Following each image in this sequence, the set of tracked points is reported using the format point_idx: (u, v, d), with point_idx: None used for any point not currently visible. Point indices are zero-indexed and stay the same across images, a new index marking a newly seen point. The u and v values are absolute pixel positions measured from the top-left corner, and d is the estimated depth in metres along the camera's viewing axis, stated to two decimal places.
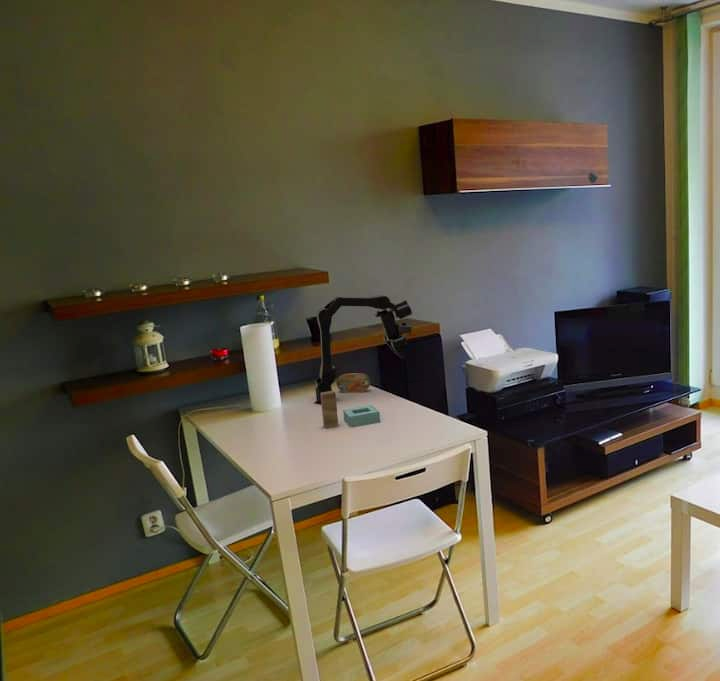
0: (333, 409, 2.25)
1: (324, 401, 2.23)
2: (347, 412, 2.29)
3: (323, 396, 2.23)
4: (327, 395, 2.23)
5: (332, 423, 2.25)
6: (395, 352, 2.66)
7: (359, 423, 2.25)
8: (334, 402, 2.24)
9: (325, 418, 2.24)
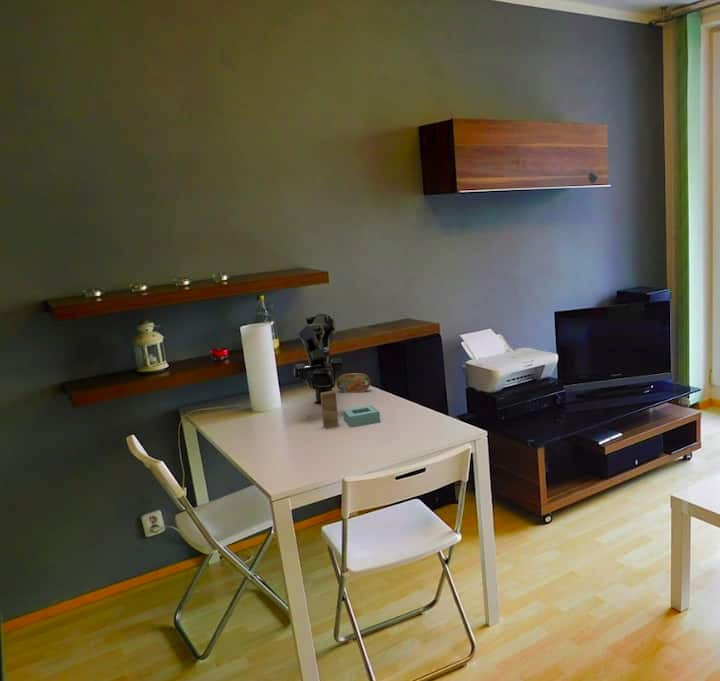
0: (333, 409, 2.25)
1: (324, 401, 2.23)
2: (347, 412, 2.29)
3: (323, 396, 2.23)
4: (327, 395, 2.23)
5: (332, 423, 2.25)
6: (333, 382, 2.34)
7: (359, 423, 2.25)
8: (334, 402, 2.24)
9: (325, 418, 2.24)
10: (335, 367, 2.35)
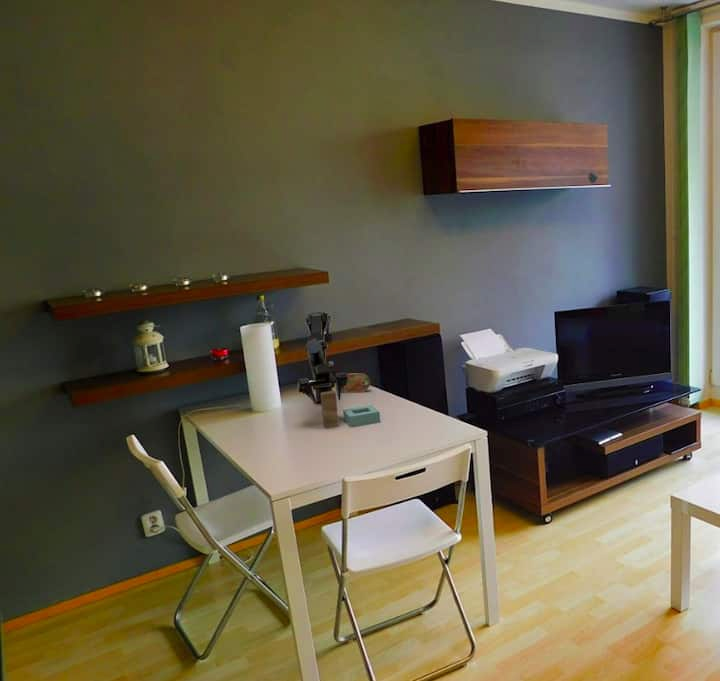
0: (333, 409, 2.25)
1: (324, 401, 2.23)
2: (347, 412, 2.29)
3: (323, 396, 2.23)
4: (327, 395, 2.23)
5: (332, 423, 2.25)
6: None
7: (359, 423, 2.25)
8: (334, 402, 2.24)
9: (325, 418, 2.24)
10: (340, 382, 2.29)
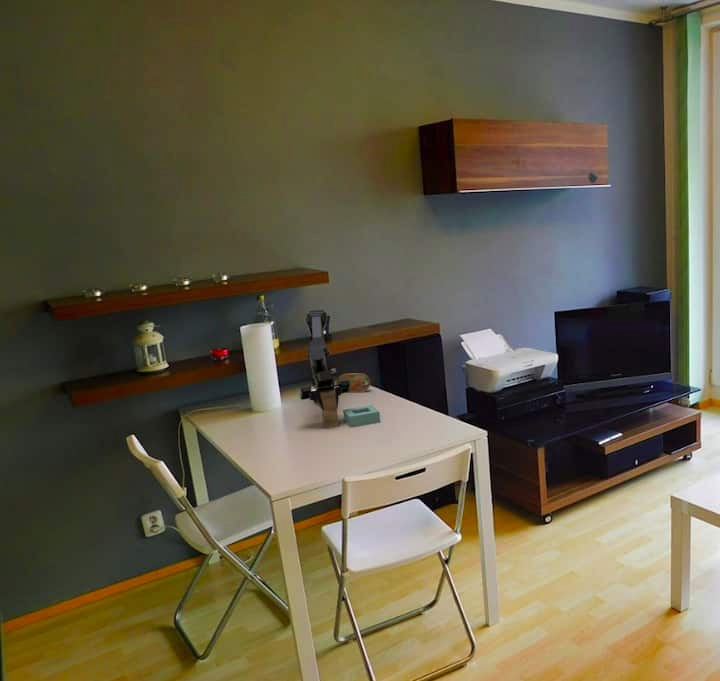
0: (333, 409, 2.25)
1: (324, 401, 2.23)
2: (347, 412, 2.29)
3: (323, 396, 2.23)
4: (327, 395, 2.23)
5: (332, 423, 2.25)
6: None
7: (359, 423, 2.25)
8: (334, 402, 2.24)
9: (325, 418, 2.24)
10: (338, 390, 2.27)
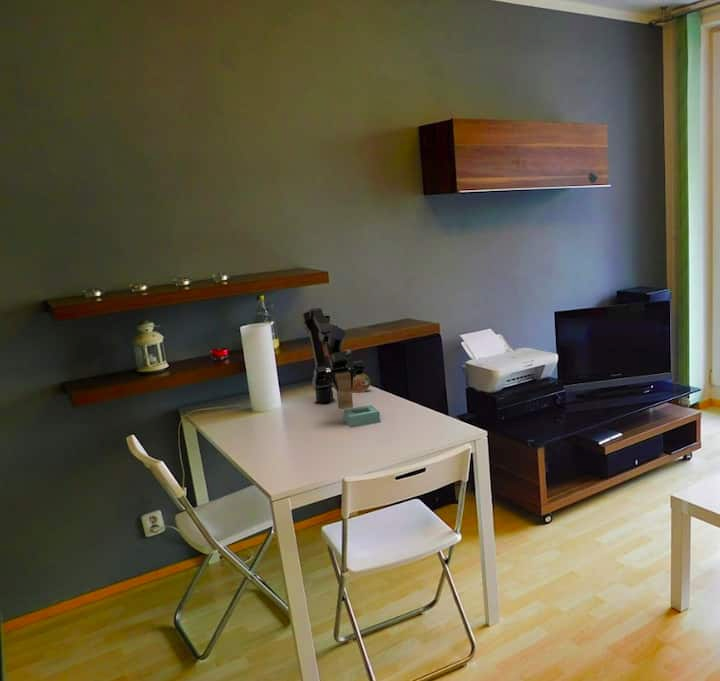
0: (348, 390, 2.25)
1: (339, 382, 2.23)
2: (347, 412, 2.29)
3: (338, 377, 2.23)
4: (342, 376, 2.23)
5: (347, 404, 2.26)
6: None
7: (359, 423, 2.25)
8: (349, 383, 2.25)
9: (340, 399, 2.25)
10: (352, 371, 2.27)
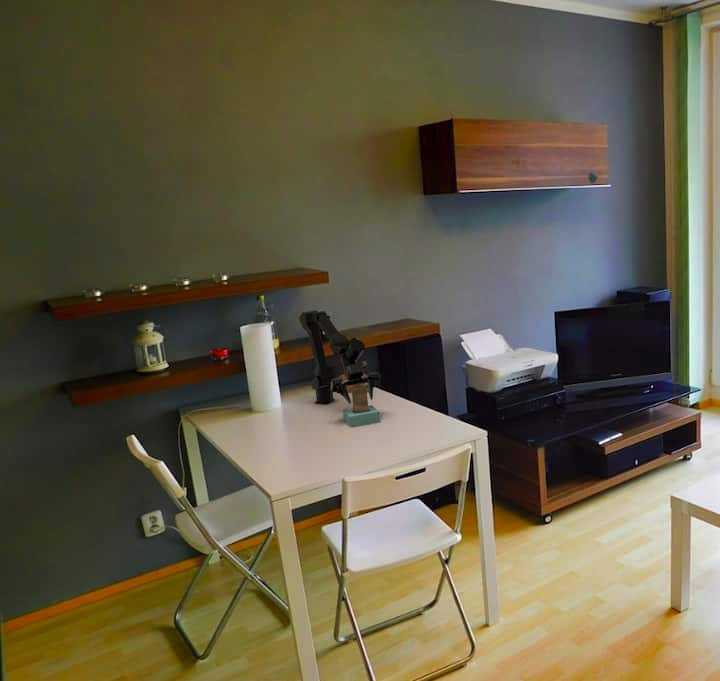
0: (364, 404, 2.28)
1: (356, 396, 2.26)
2: (347, 412, 2.29)
3: (355, 391, 2.26)
4: (358, 390, 2.26)
5: None
6: (370, 397, 2.30)
7: (359, 423, 2.25)
8: (365, 397, 2.27)
9: None
10: (372, 382, 2.30)
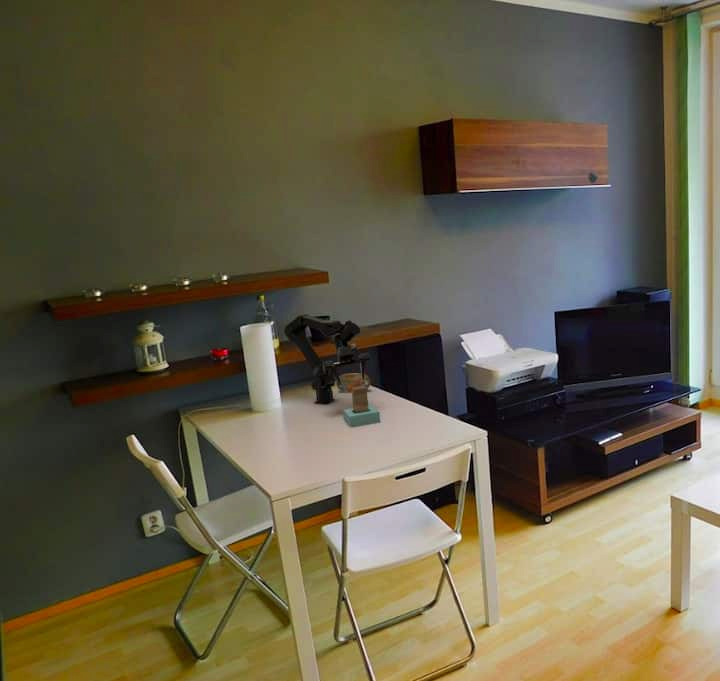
0: (364, 404, 2.28)
1: (356, 396, 2.26)
2: (347, 412, 2.29)
3: (355, 391, 2.26)
4: (358, 390, 2.26)
5: None
6: (362, 377, 2.38)
7: (359, 423, 2.25)
8: (365, 397, 2.27)
9: None
10: (363, 362, 2.38)
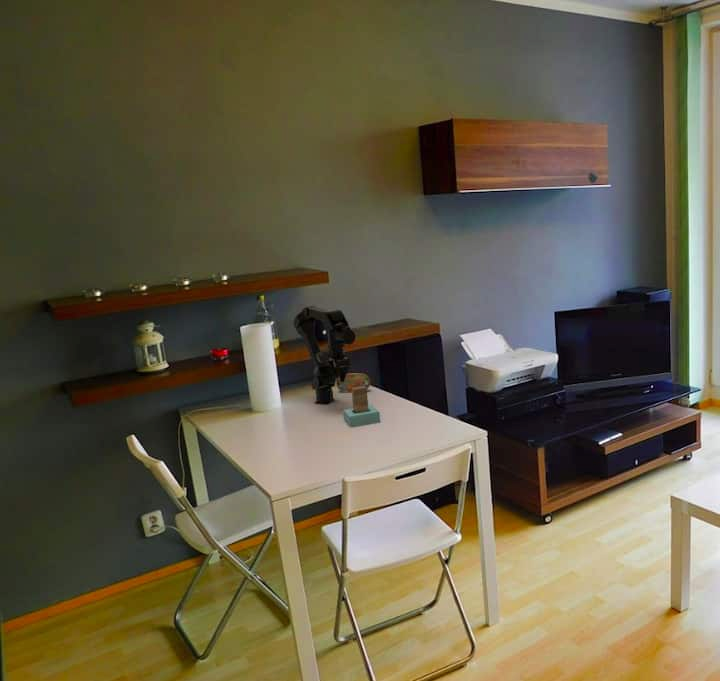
0: (365, 404, 2.28)
1: (356, 396, 2.26)
2: (347, 412, 2.29)
3: (355, 391, 2.26)
4: (358, 390, 2.26)
5: None
6: None
7: (359, 423, 2.25)
8: (365, 397, 2.27)
9: None
10: (336, 368, 2.39)
